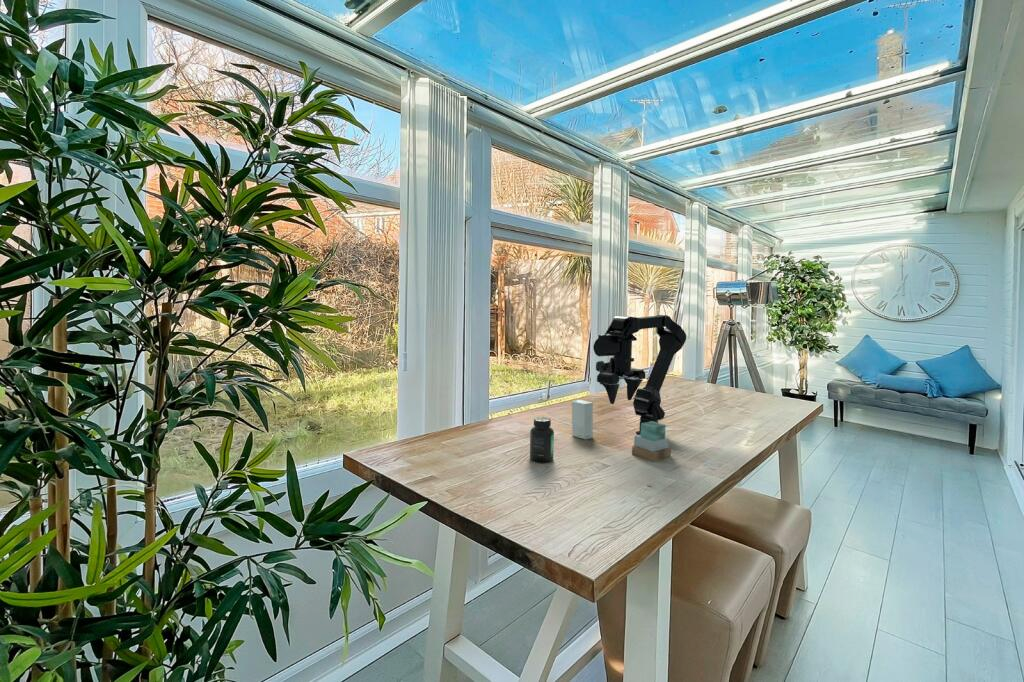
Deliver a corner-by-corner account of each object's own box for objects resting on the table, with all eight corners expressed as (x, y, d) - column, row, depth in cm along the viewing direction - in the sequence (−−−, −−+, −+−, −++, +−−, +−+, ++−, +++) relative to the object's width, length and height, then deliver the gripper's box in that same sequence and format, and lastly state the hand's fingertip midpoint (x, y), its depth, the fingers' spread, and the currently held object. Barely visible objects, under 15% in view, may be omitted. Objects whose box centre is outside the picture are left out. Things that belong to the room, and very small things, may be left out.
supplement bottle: (558, 461, 131) (559, 420, 130) (538, 465, 128) (539, 423, 127) (544, 454, 137) (545, 414, 136) (525, 457, 134) (525, 417, 133)
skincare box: (593, 437, 154) (594, 402, 153) (584, 440, 151) (585, 404, 150) (579, 433, 159) (580, 399, 158) (570, 435, 156) (571, 400, 155)
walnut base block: (647, 450, 143) (647, 441, 143) (670, 457, 137) (670, 447, 137) (631, 455, 138) (632, 446, 138) (655, 463, 132) (655, 453, 132)
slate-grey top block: (648, 441, 143) (649, 432, 142) (668, 447, 137) (668, 438, 137) (634, 445, 138) (634, 435, 138) (653, 452, 133) (653, 441, 133)
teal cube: (651, 433, 141) (651, 421, 140) (664, 438, 136) (665, 424, 136) (640, 436, 138) (641, 423, 137) (654, 440, 134) (654, 427, 133)
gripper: (619, 350, 161) (618, 394, 162) (584, 354, 149) (583, 401, 150) (647, 353, 152) (645, 399, 154) (612, 357, 140) (610, 407, 142)
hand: (620, 401), depth 150 cm, fingers open, 9 cm apart
